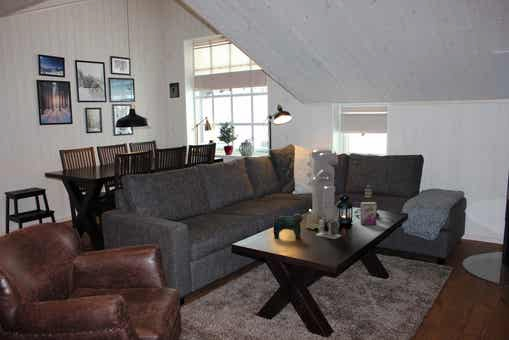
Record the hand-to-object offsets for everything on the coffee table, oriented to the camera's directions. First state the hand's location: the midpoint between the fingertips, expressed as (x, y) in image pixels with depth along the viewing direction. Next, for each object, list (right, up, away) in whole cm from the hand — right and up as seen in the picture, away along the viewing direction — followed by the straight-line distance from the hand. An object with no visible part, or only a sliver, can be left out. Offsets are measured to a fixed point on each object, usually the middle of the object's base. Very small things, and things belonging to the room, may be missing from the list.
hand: (328, 230), depth 292 cm
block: (0, -2, 0) cm, 2 cm away
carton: (-1, -1, +19) cm, 19 cm away
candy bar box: (+34, 0, +25) cm, 42 cm away
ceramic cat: (-28, -5, -3) cm, 29 cm away
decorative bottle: (+40, +4, +47) cm, 62 cm away
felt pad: (0, -4, 0) cm, 4 cm away
